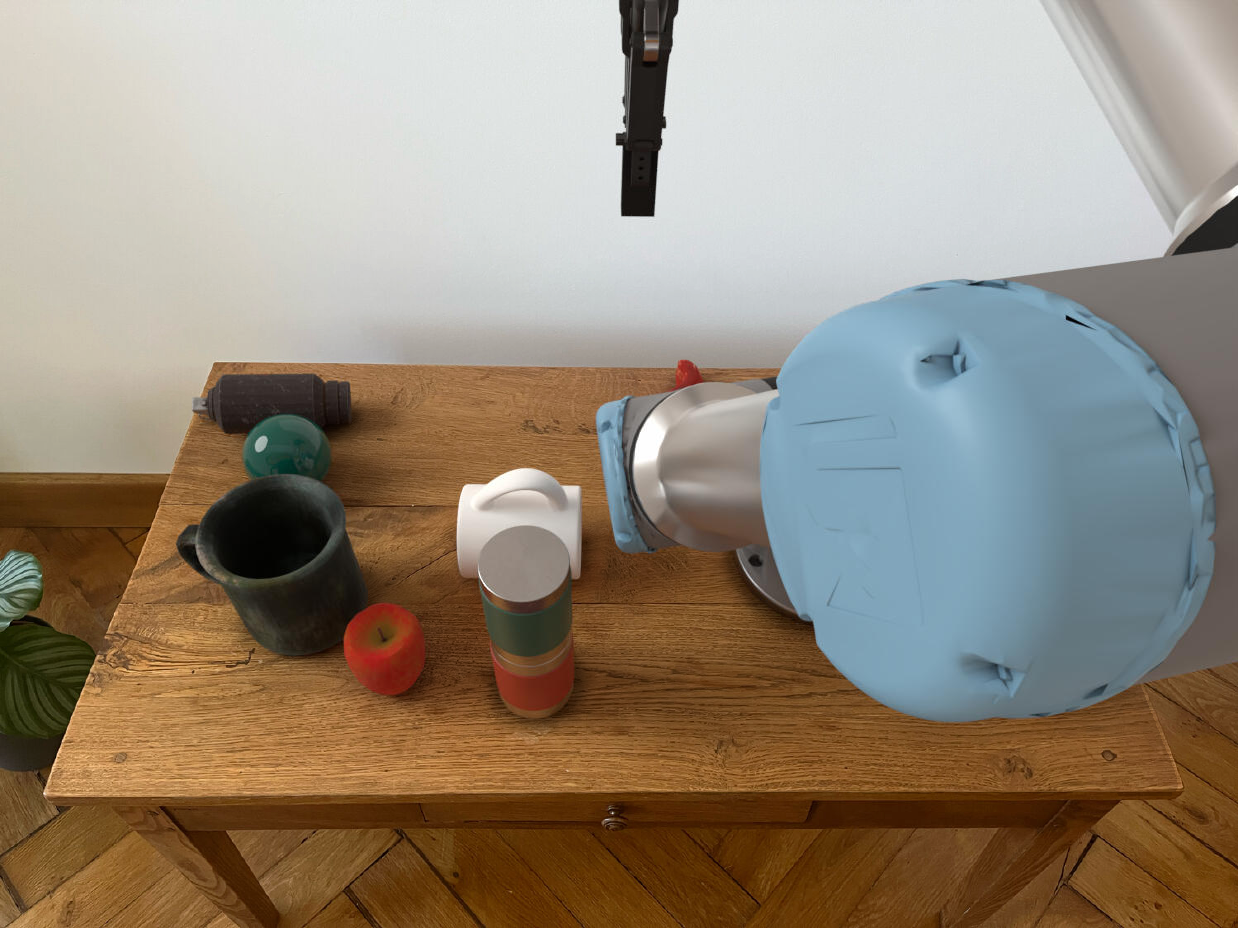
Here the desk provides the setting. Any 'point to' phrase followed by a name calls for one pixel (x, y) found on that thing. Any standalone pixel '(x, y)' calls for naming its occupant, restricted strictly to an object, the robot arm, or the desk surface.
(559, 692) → the tin low
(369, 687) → the apple
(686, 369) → the vegetable
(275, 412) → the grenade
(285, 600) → the mug
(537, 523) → the mug
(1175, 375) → the robot arm
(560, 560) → the tin top
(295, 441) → the sphere
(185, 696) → the desk surface
